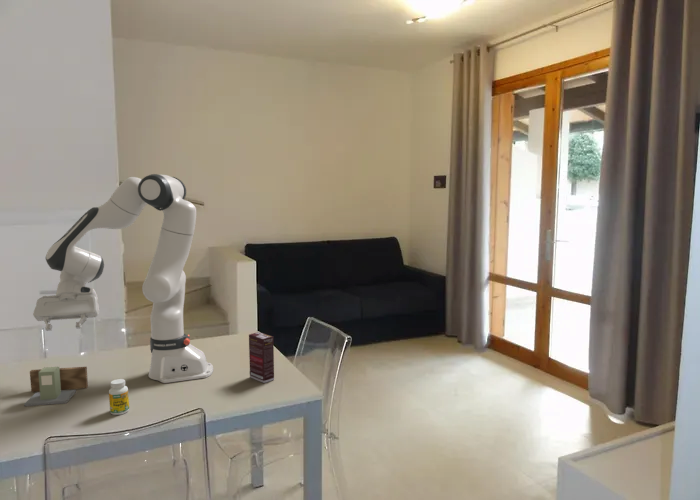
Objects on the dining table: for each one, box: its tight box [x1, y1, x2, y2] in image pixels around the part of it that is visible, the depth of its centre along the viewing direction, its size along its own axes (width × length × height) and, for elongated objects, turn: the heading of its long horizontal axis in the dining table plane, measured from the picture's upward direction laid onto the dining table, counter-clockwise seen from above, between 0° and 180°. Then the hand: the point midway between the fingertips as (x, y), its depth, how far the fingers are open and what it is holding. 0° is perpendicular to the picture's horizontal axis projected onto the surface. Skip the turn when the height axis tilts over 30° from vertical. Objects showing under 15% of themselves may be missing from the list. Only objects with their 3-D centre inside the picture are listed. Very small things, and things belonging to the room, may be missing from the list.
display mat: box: [23, 389, 77, 407], centre depth 165 cm, size 12×9×1 cm
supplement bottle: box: [108, 378, 130, 416], centre depth 155 cm, size 5×5×10 cm
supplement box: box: [248, 331, 275, 384], centre depth 181 cm, size 9×5×16 cm, turn 47°
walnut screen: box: [29, 366, 89, 393], centre depth 172 cm, size 17×2×7 cm, turn 101°
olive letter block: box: [38, 366, 62, 400], centre depth 164 cm, size 4×5×9 cm
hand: (63, 328), depth 175 cm, fingers open, 8 cm apart
